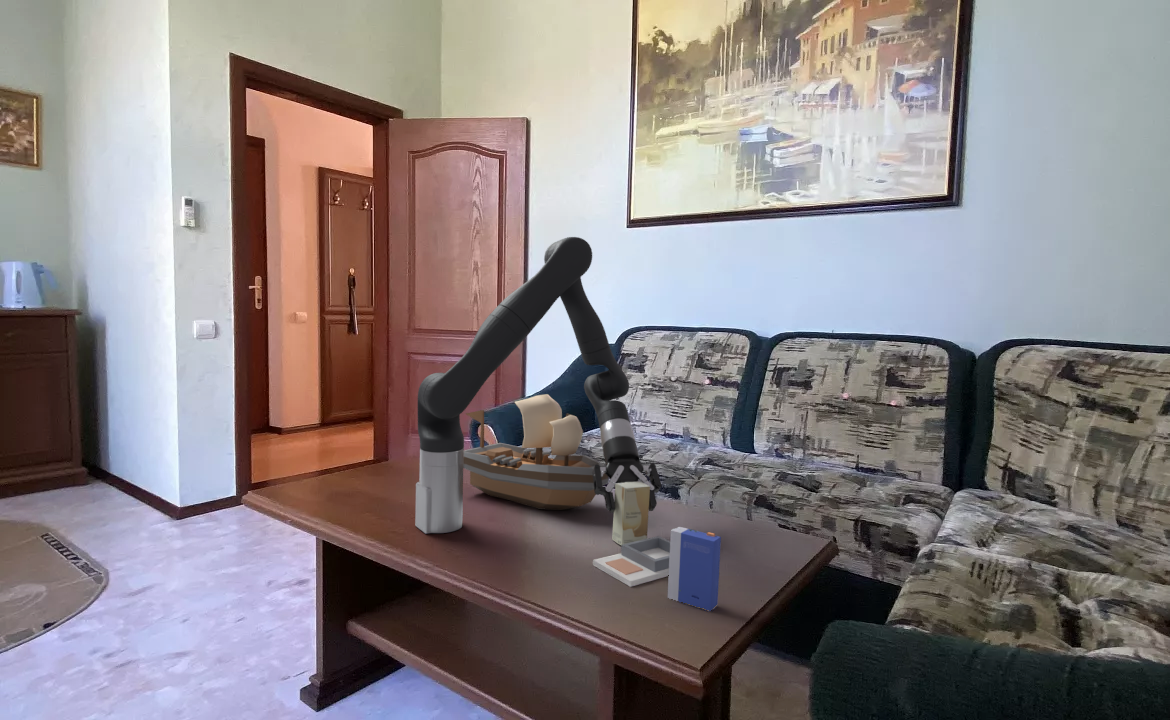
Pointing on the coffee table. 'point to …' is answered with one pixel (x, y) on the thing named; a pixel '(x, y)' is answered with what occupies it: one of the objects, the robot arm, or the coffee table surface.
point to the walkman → (694, 567)
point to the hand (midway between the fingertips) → (632, 510)
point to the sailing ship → (536, 460)
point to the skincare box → (630, 512)
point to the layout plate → (638, 561)
